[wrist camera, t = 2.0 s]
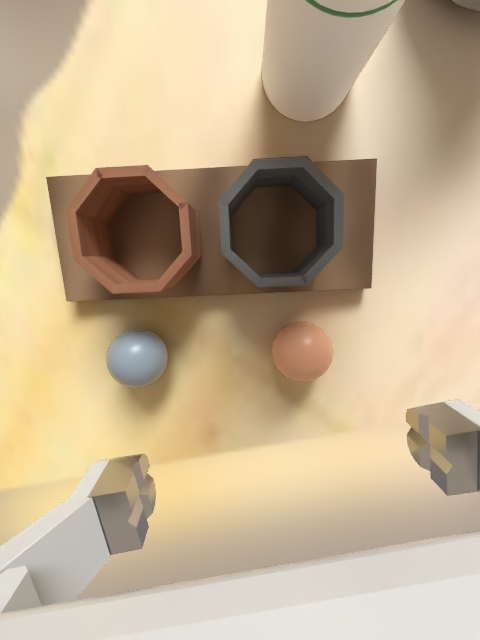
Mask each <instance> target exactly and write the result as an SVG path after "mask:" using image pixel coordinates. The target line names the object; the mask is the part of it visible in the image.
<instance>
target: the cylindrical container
mask: <svg viewBox="0 0 480 640" xmlns="http://www.w3.org/2000/svg"><path fill="white" fill-rule="evenodd" d="M404 2H405V0H267V11H266V23H265V35H264V47H263V59H262V81H263V86H264V89H265V92H266V95H267V97H268V99H269V100H270V102H271V104H272V105H273V106H274V107H275V108H276V109H277V111H279V112H280V113H281V114H283V115H284V116H286V117H288V118H290V119H293V120H296V121H302V122H306V121H314V120H319V119H321V118H323V117H325V116H327V115H329V114H330V113H331V112H333V111H334V110H335V109H336V108H337V107H338V106H339V105H340V104H341V103H342V101H343V100H344V98H345V97H346V95H347V94H348V92H349V90H350V89H351V87H352V86H353V84H354V82H355V81H356V79H357V77H358V76H359V74H360V73H361V71H362V69H363V68H364V66H365V65H366V63H367V61H368V60H369V58H370V57H371V55H372V53H373V52H374V50H375V49H376V47H377V45H378V44H379V42H380V41H381V39H382V37H383V36H384V34H385V33H386V31H387V29H388V28H389V26H390V25H391V23H392V21H393V20H394V18H395V17H396V15H397V13H398V12H399V10H400V8H401V7H402V5H403V4H404Z"/></svg>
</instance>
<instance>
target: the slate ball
mask: <svg viewBox="0 0 480 640" xmlns="http://www.w3.org/2000/svg"><path fill="white" fill-rule="evenodd" d="M106 361H107V367H108V370H109V372H110V374H111V375H112V377H113V378H114V379H115V380H116V381H118V382H119V383H121V384H122V385H125V386H128V387H135V388H138V387H144V386H147V385H150V384H152V383H153V382H155V381H156V380H157V379H159V378H160V376H161V375H162V374H163V372H164V371H165V369H166V366H167V362H168V352H167V348H166V345H165V343H164V342H163V340H162V339H161V338H160V337H159V336H158V335H156V334H155V333H153V332H151V331H149V330H145V329H132V330H128V331H125V332H123V333H121V334H120V335H119V336H117V337H116V338H115V339H114V340H113V342H112V343H111V345H110V346H109V349H108V352H107V357H106Z"/></svg>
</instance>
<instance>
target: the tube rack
mask: <svg viewBox="0 0 480 640" xmlns="http://www.w3.org/2000/svg"><path fill="white" fill-rule="evenodd" d="M376 165H377V159H361V160H343V161H325V162H312V161H311V160H310V159H309V158H308V157H307V156H301V157H283V158H265V159H253V161H252V162H251V163H250V164H249V165H248V166H235V167H217V168H200V169H182V170H164V171H153V170H152V169H151V168H150V167H149V166H148V165H142V166H124V167H106V168H96V169H95V170H94V171H93V173H92V174H91V175H74V176H56V177H46V179H47V185H48V191H49V197H50V203H51V209H52V215H53V221H54V227H55V233H56V239H57V245H58V251H59V257H60V263H61V269H62V275H63V282H64V288H65V294H66V300H67V301H90V300H113V299H136V298H159V297H181V296H204V295H227V294H250V293H273V292H296V291H319V290H342V289H364V288H371V282H372V259H373V236H374V212H375V189H376Z"/></svg>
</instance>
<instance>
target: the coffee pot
mask: <svg viewBox="0 0 480 640" xmlns="http://www.w3.org/2000/svg"><path fill="white" fill-rule="evenodd" d="M451 1H453V2H454V3H455V4H457V5H459V6H462V7H465V8H468V9H471V10H475V11H480V0H451Z"/></svg>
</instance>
